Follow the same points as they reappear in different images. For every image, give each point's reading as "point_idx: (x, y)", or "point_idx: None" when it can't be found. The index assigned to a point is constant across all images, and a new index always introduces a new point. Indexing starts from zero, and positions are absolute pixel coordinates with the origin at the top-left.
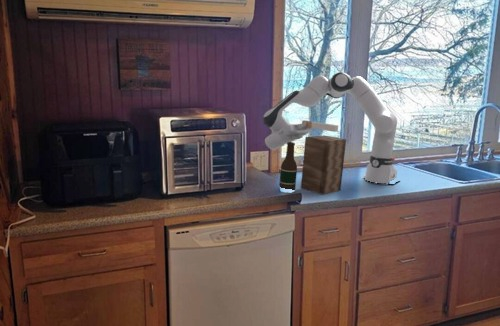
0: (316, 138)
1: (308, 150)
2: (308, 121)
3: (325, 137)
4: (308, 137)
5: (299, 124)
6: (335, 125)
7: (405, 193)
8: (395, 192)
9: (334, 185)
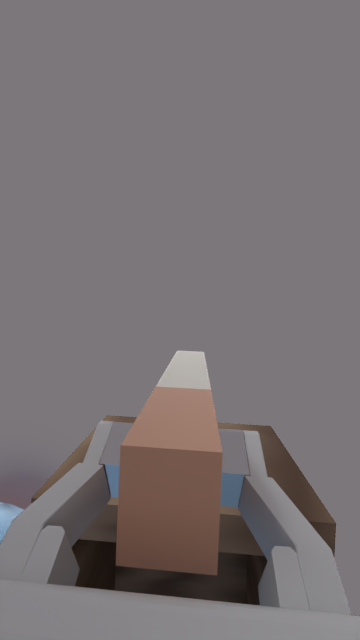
0: (276, 466)
1: None
2: (211, 404)
3: None
4: (318, 502)
5: (313, 533)
6: (198, 352)
7: (7, 504)
8: (8, 521)
9: None
